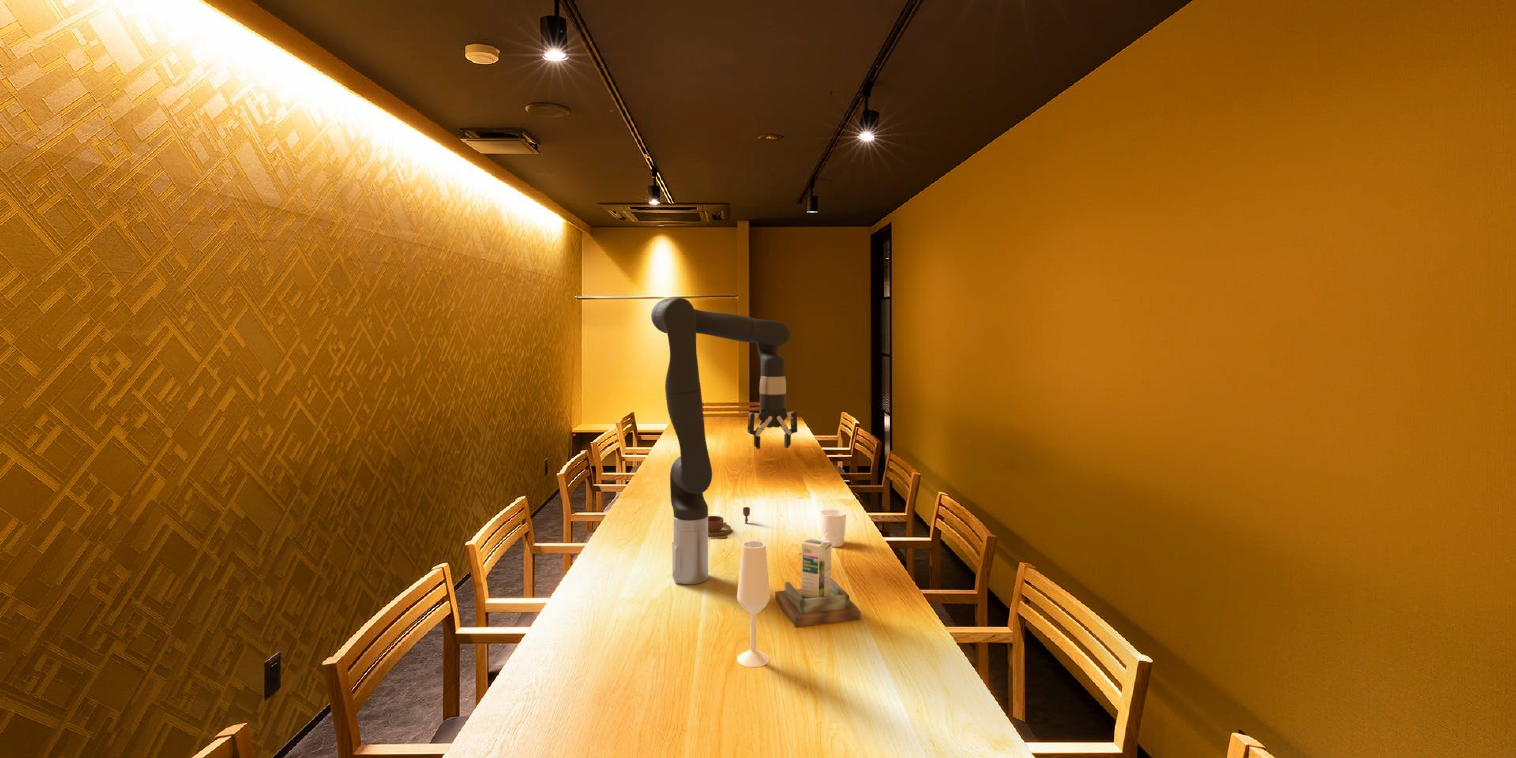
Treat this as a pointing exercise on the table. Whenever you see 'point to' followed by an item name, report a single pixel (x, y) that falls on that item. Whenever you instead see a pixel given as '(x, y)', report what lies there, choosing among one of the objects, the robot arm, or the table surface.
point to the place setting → (722, 525)
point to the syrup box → (816, 568)
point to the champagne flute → (753, 595)
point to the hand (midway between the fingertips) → (772, 448)
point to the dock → (817, 606)
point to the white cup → (833, 526)
